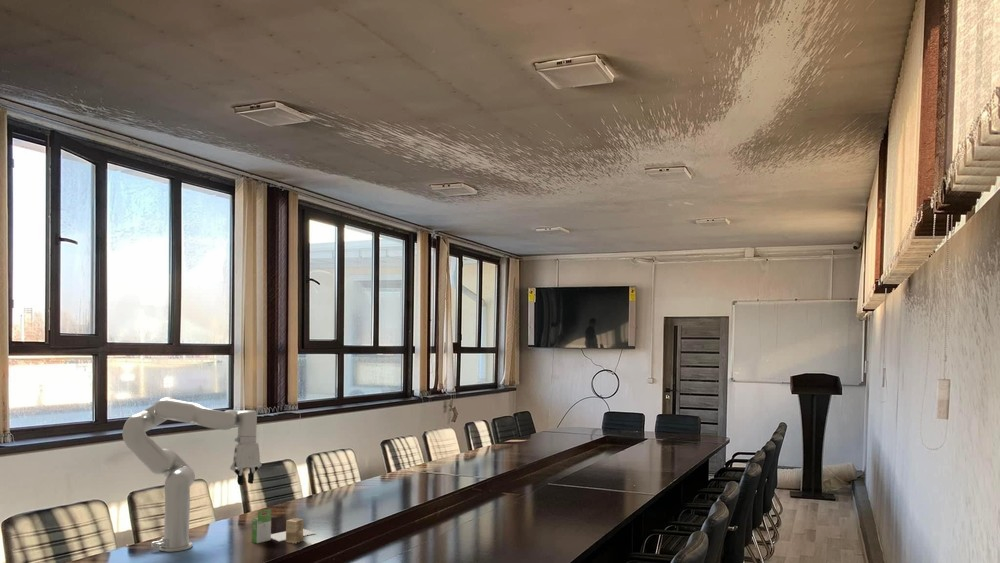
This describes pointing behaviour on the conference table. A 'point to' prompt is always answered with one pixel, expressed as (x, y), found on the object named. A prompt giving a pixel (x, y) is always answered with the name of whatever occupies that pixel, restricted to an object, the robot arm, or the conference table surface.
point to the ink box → (261, 527)
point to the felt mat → (282, 535)
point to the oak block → (294, 530)
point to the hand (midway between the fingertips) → (245, 483)
